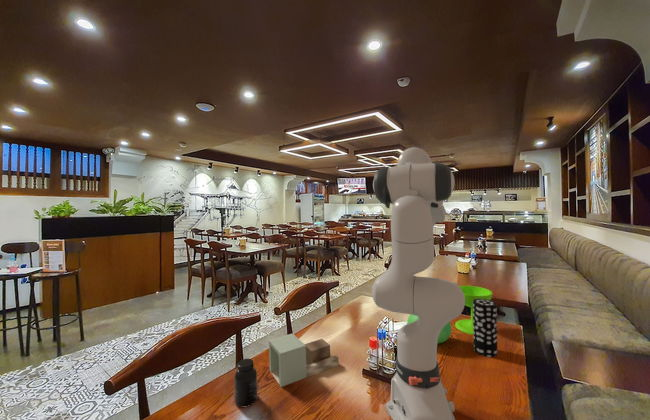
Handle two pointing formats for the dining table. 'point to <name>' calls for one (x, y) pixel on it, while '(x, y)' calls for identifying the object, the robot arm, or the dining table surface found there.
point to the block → (317, 351)
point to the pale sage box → (287, 358)
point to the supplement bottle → (245, 383)
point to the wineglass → (471, 305)
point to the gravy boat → (443, 334)
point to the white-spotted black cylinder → (485, 327)
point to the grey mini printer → (315, 367)
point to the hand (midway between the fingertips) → (420, 227)
